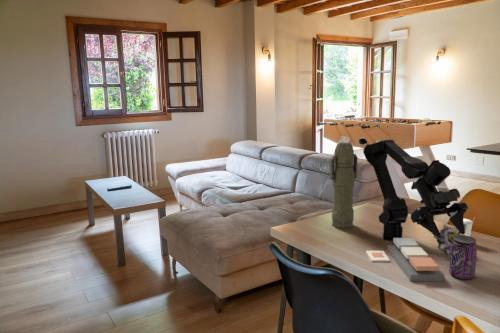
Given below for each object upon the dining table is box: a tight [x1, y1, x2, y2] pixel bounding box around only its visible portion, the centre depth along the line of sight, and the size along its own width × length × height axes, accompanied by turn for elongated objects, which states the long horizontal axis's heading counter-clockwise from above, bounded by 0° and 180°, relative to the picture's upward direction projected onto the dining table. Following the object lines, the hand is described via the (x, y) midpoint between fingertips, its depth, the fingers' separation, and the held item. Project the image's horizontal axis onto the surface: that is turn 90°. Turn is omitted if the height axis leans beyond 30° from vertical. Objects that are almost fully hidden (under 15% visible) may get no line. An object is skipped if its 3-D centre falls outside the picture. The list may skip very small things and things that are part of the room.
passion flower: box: [432, 222, 464, 255], centre depth 145 cm, size 11×11×12 cm
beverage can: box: [448, 235, 478, 280], centre depth 126 cm, size 7×7×12 cm
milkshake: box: [463, 217, 476, 237], centre depth 152 cm, size 4×5×10 cm
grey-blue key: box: [392, 237, 419, 249], centre depth 143 cm, size 6×6×1 cm
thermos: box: [329, 142, 359, 230], centre depth 171 cm, size 9×12×35 cm
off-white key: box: [401, 246, 429, 259], centre depth 135 cm, size 6×6×1 cm
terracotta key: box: [409, 256, 440, 271], centre depth 126 cm, size 6×6×1 cm
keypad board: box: [387, 244, 446, 282], centre depth 135 cm, size 24×10×2 cm, turn 178°
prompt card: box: [365, 250, 391, 263], centre depth 142 cm, size 8×6×1 cm
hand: (452, 235), depth 129 cm, fingers open, 9 cm apart
